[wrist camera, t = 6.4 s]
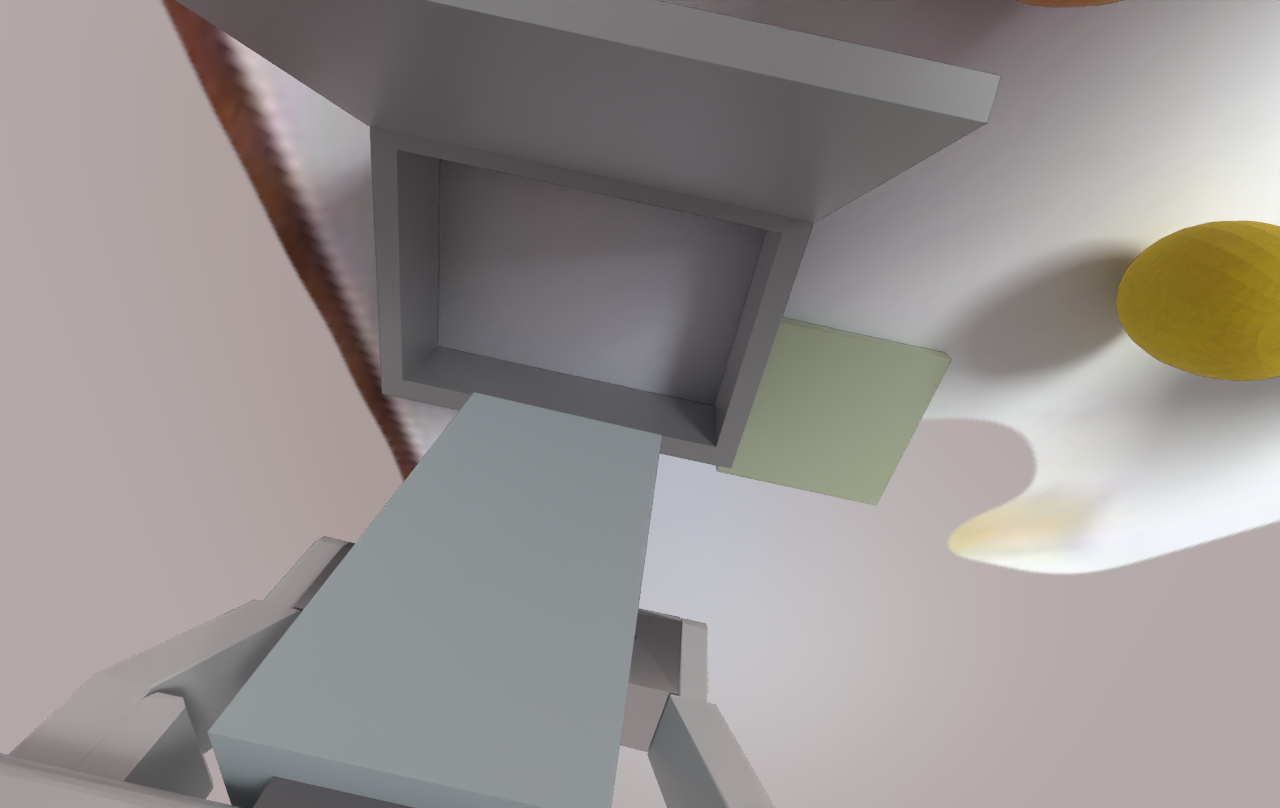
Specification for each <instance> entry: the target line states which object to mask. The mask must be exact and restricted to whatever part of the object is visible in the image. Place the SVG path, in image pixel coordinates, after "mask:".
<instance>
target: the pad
mask: <svg viewBox="0 0 1280 808" xmlns="http://www.w3.org/2000/svg"><path fill="white" fill-rule="evenodd" d="M951 360H952V359H951V358H950V357H949V356H948V355H947V354H946V353H943V352H939V351H934V350H930V349H925V348H920V347H916V346H911V345H907V344H902V343H897V342H893V341H888V340H883V339H879V338H874V337H870V336H865V335H860V334H856V333H851V332H847V331H842V330H837V329H833V328H828V327H823V326H819V325H814V324H810V323H805V322H800V321H796V320H791V319H786V318H782V319H781V322H780V325H779V328H778V331H777V334H776V337H775V340H774V343H773V346H772V349H771V352H770V355H769V358H768V361H767V364H766V367H765V370H764V373H763V376H762V379H761V382H760V384H759V387H758V390H757V393H756V396H755V399H754V402H753V405H752V408H751V411H750V414H749V417H748V420H747V423H746V426H745V429H744V432H743V435H742V438H741V441H740V444H739V447H738V450H737V453H736V456H735V459H734V462H733V465H732V468H731V469H730V468H726V467H721V466H716V467H717V471H719V472H723V473H727V474H732V475H737V476H741V477H746V478H751V479H755V480H761V481H765V482H769V483H774V484H779V485H784V486H788V487H793V488H797V489H802V490H807V491H811V492H816V493H821V494H825V495H830V496H835V497H839V498H844V499H848V500H853V501H858V502H862V503H867V504H872V505H877V504H878V502H879V500H880V498H881V496H882V494H883V492H884V490H885V488H886V486H887V484H888V482H889V480H890V478H891V476H892V474H893V473H894V471H895V469H896V467H897V465H898V463H899V461H900V459H901V457H902V455H903V453H904V451H905V449H906V447H907V445H908V443H909V442H910V439H911V438H912V436H913V434H914V432H915V430H916V428H917V426H918V424H919V422H920V420H921V418H922V416H923V414H924V412H925V410H926V409H927V407H928V405H929V403H930V401H931V399H932V397H933V395H934V393H935V391H936V389H937V387H938V385H939V383H940V381H941V379H942V377H943V375H944V374H945V372H946V370H947V368H948V366H949V364H950V362H951Z"/></svg>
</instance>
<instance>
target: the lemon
mask: <svg viewBox="0 0 1280 808" xmlns="http://www.w3.org/2000/svg"><path fill="white" fill-rule="evenodd" d="M1116 306H1117V312H1118V317H1119V320H1120V322H1121V324H1122V326H1123V327H1124V329H1125V331H1126V333H1127V334H1128V336H1129V337H1130V338H1131V339H1132V340H1133V341H1134V342H1135V343H1136V344H1137V345H1138V346H1140V347H1141V348H1142V349H1143V350H1145V351H1146V352H1147V353H1148V354H1150V355H1151V356H1152V357H1154V358H1156V359H1157V360H1159V361H1161V362H1163V363H1165V364H1168V365H1170V366H1173V367H1176V368H1178V369H1181V370H1184V371H1187V372H1189V373H1193V374H1196V375H1200V376H1204V377H1210V378H1216V379H1225V380H1236V381H1248V380H1259V379H1270V378H1274V377H1278V376H1280V226H1276V225H1272V224H1267V223H1262V222H1255V221H1219V222H1210V223H1205V224H1201V225H1197V226H1193V227H1189V228H1185V229H1182V230H1179V231H1177V232H1175V233H1173V234H1170V235H1168V236H1166V237H1164V238H1162V239H1160V240H1158V241H1157V242H1156V243H1154V244H1153V245H1151V246H1150V247H1148V248H1147V249H1145V250H1144V251H1143V252H1142V253H1141V254H1140V255H1139V256H1138V257H1137V258H1136V259H1135V260H1134V261H1133V262H1132V263H1131V264H1130V266H1129V267H1128V269H1127V270H1126V272H1125V273H1124V275H1123V277H1122V280H1121V282H1120V284H1119V287H1118V291H1117V298H1116Z"/></svg>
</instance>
